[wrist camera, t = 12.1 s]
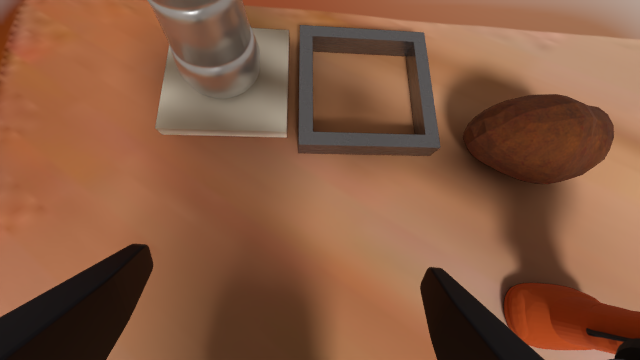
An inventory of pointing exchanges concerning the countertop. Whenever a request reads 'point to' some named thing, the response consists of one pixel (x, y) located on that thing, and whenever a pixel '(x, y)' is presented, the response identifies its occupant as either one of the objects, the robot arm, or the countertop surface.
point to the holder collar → (373, 44)
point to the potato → (540, 138)
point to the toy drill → (571, 321)
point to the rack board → (232, 113)
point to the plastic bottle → (211, 44)
